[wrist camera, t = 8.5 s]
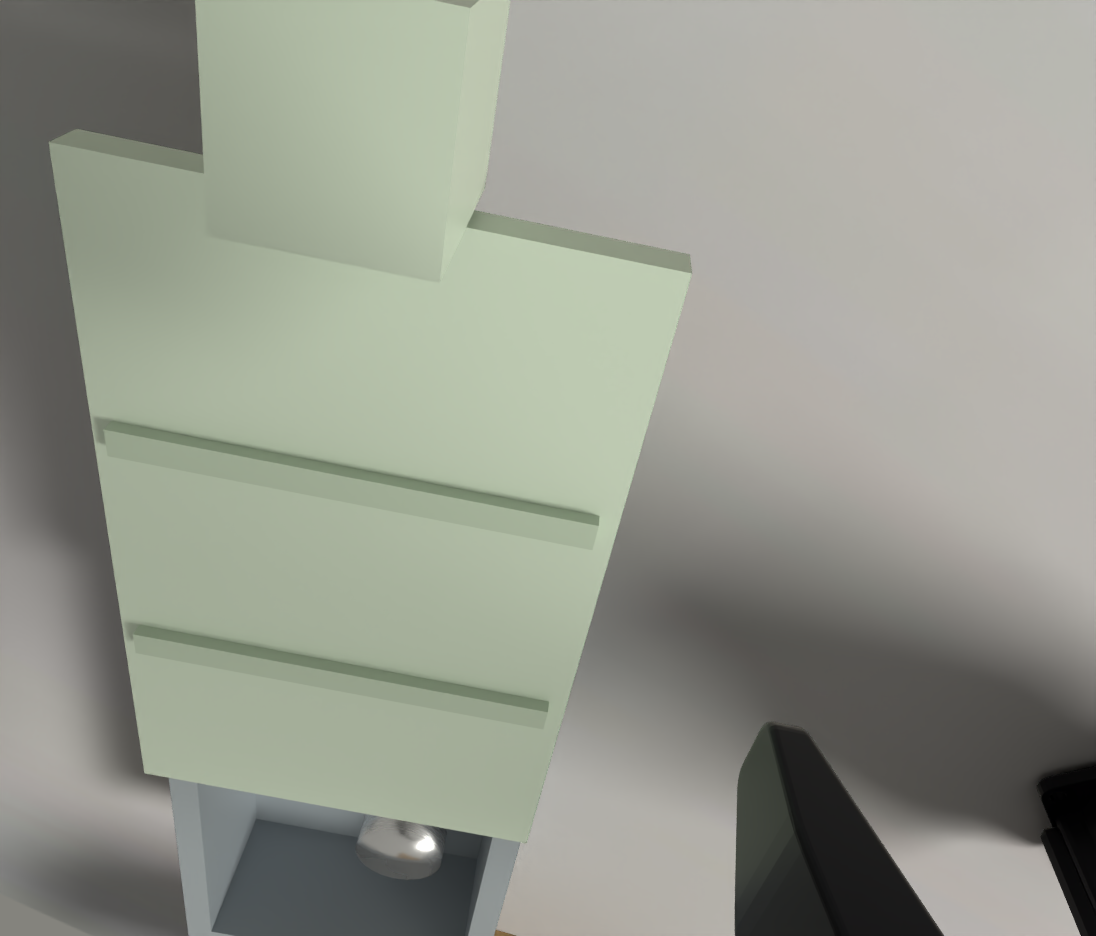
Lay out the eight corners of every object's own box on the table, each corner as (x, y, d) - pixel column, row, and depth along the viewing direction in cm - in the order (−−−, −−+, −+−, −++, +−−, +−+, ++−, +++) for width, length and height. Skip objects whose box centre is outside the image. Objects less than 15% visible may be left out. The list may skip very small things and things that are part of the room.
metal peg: (426, 746, 29) (408, 821, 27) (471, 793, 31) (457, 869, 28) (361, 767, 30) (338, 841, 28) (407, 812, 32) (388, 886, 29)
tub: (226, 484, 24) (146, 605, 20) (577, 552, 25) (565, 684, 21) (241, 812, 34) (189, 939, 30) (497, 859, 34) (478, 990, 30)
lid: (65, -126, 12) (-140, -122, 9) (750, 19, 13) (788, 75, 9) (168, 729, 24) (92, 869, 20) (531, 796, 24) (514, 944, 21)
